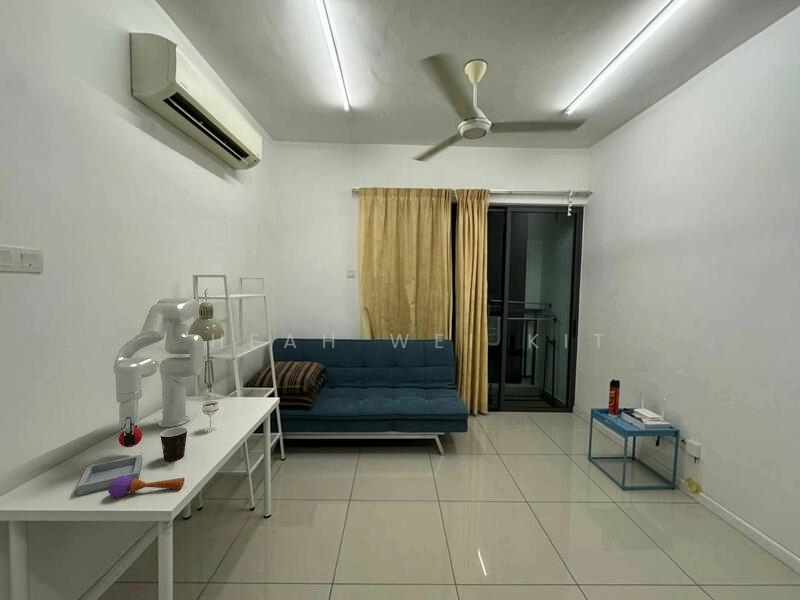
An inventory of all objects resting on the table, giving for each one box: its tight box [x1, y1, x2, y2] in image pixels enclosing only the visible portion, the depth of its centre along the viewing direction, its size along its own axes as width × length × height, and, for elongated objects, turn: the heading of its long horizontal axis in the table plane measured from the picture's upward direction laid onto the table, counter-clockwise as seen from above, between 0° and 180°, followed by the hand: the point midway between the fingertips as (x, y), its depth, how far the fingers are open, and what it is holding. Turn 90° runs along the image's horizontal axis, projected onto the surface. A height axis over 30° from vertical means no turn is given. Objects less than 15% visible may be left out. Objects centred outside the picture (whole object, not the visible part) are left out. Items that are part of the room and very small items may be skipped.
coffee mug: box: [159, 426, 188, 463], centre depth 127 cm, size 12×9×10 cm
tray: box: [76, 454, 143, 497], centre depth 114 cm, size 15×15×3 cm
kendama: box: [107, 475, 185, 498], centre depth 106 cm, size 6×6×20 cm
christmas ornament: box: [118, 425, 143, 448], centre depth 128 cm, size 7×7×10 cm
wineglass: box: [201, 400, 220, 432], centre depth 154 cm, size 7×7×12 cm
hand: (130, 440), depth 128 cm, fingers closed on christmas ornament, 7 cm apart
